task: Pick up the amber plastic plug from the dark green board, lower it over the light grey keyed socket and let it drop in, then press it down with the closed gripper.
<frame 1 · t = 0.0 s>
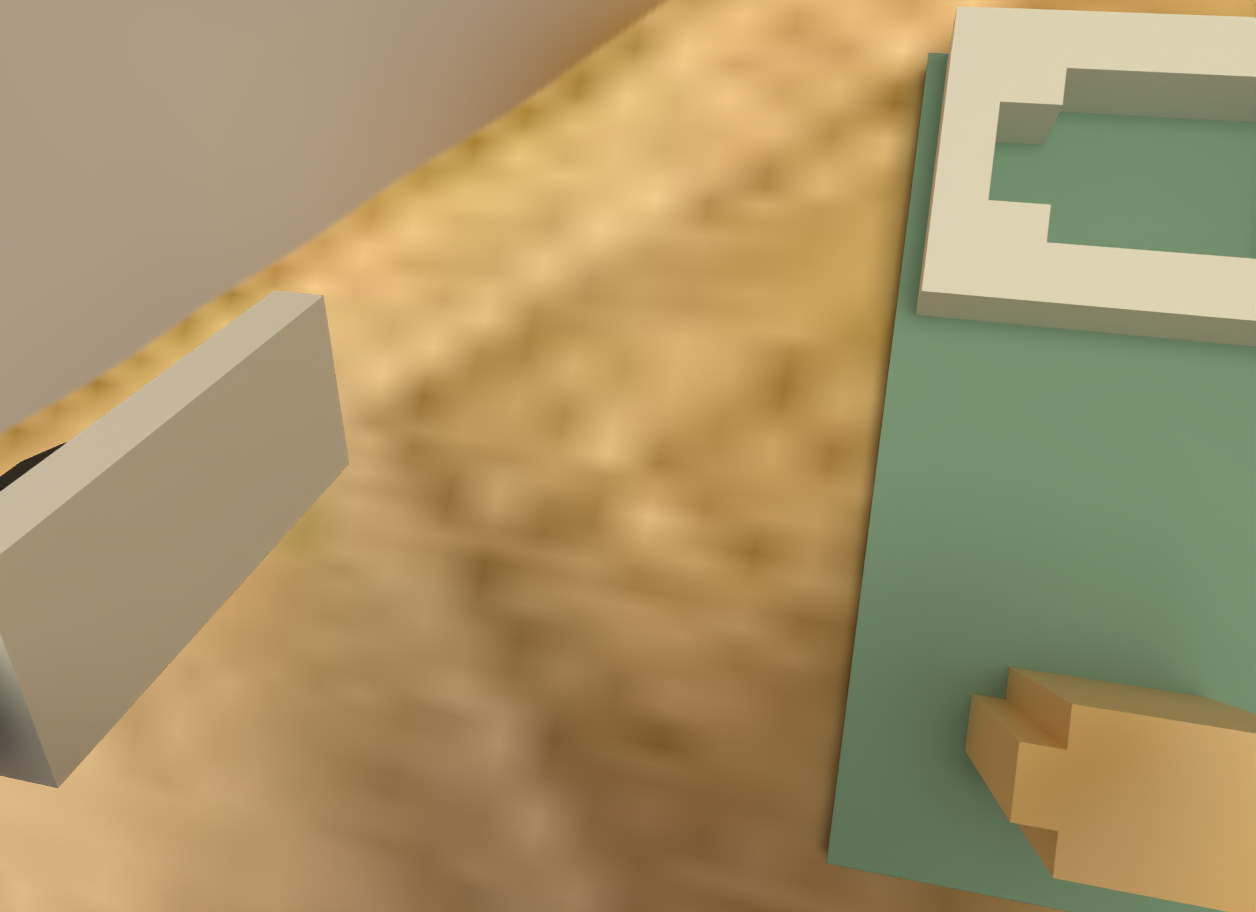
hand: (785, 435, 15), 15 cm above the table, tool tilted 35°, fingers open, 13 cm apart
plug: (1099, 744, 27), point 1 cm above the table, touching board
board: (1119, 479, 28), on the table
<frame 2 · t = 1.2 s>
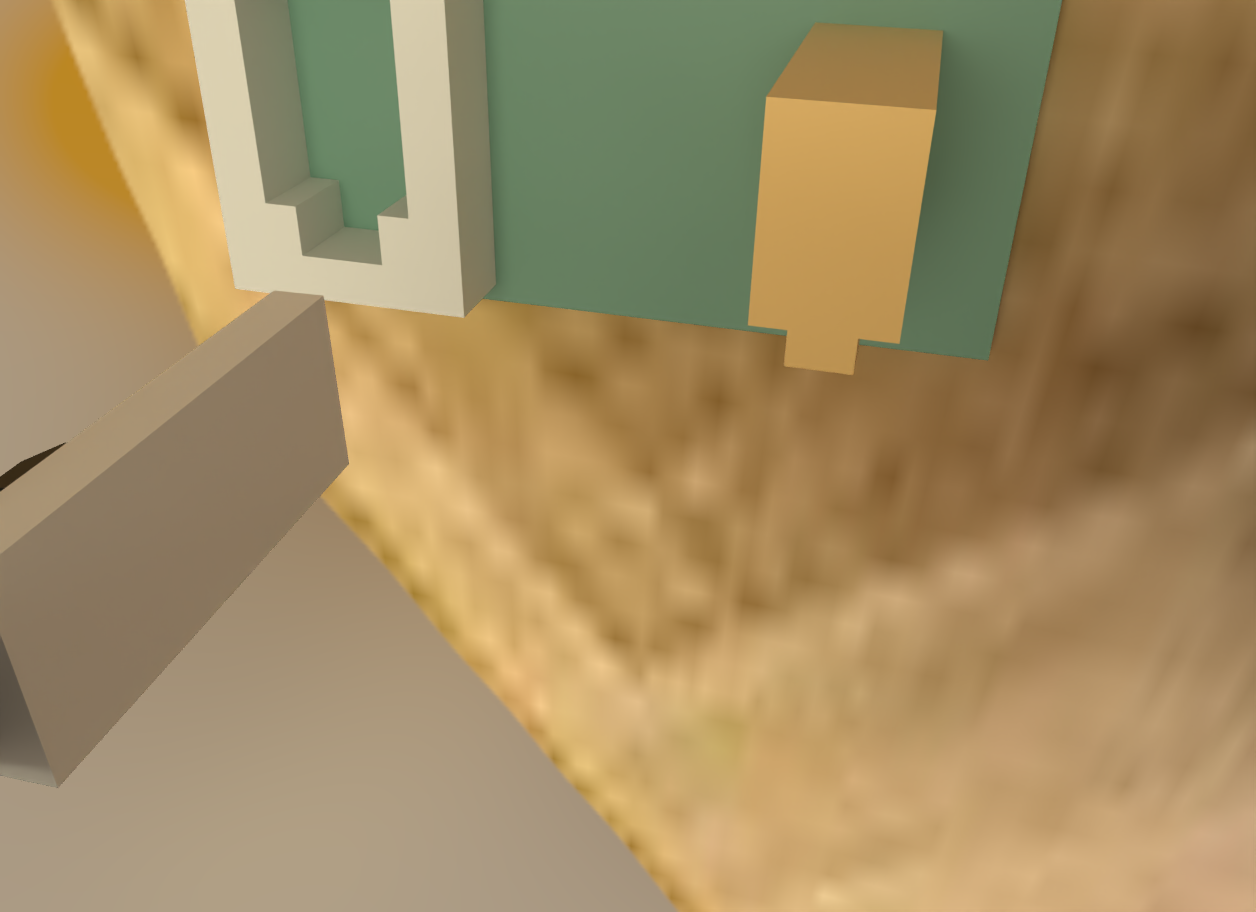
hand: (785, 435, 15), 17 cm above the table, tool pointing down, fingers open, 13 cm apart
plug: (866, 122, 28), point 1 cm above the table, touching board
board: (623, 93, 30), on the table
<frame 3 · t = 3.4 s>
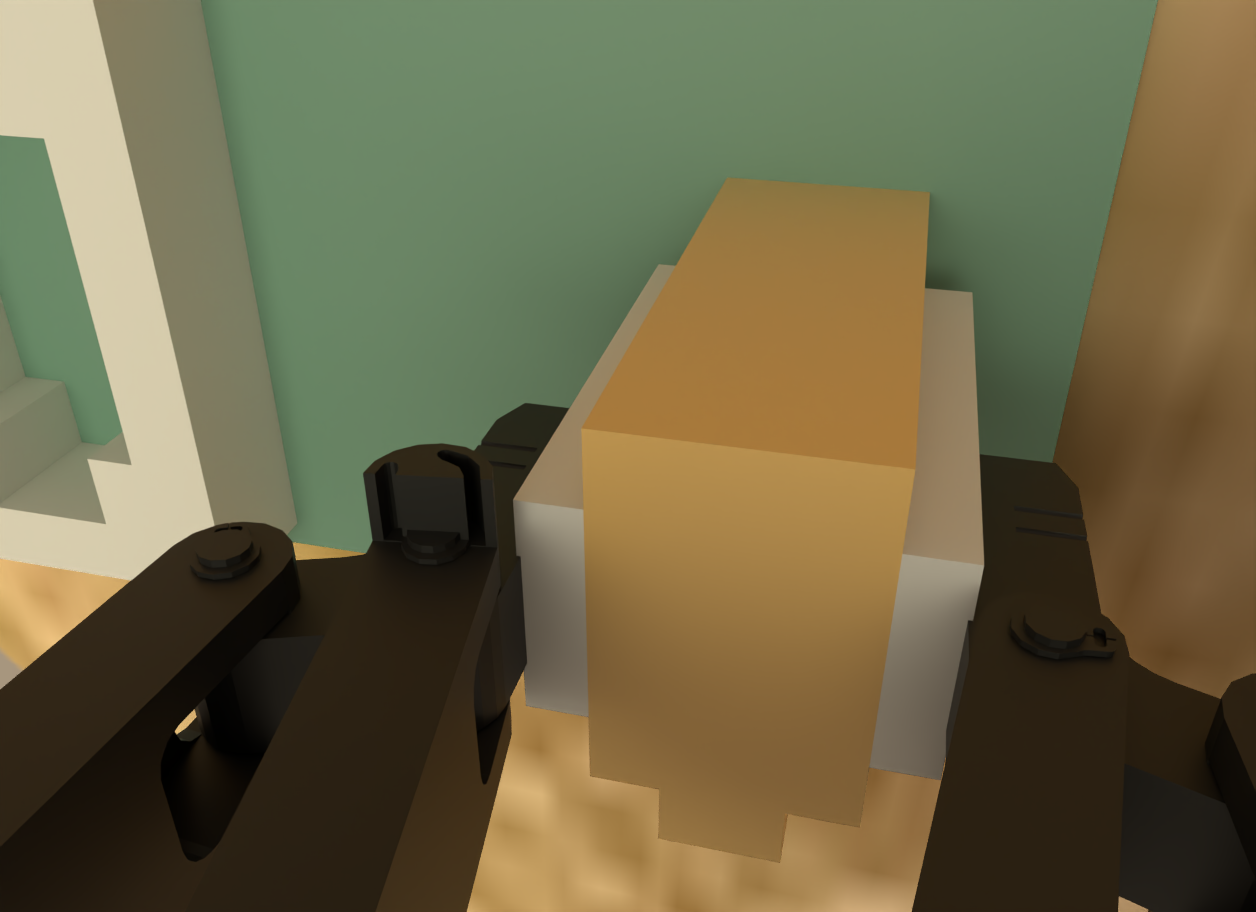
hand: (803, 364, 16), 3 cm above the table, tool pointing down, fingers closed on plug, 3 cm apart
plug: (813, 323, 18), point 1 cm above the table, touching board, gripper
board: (455, 265, 20), on the table
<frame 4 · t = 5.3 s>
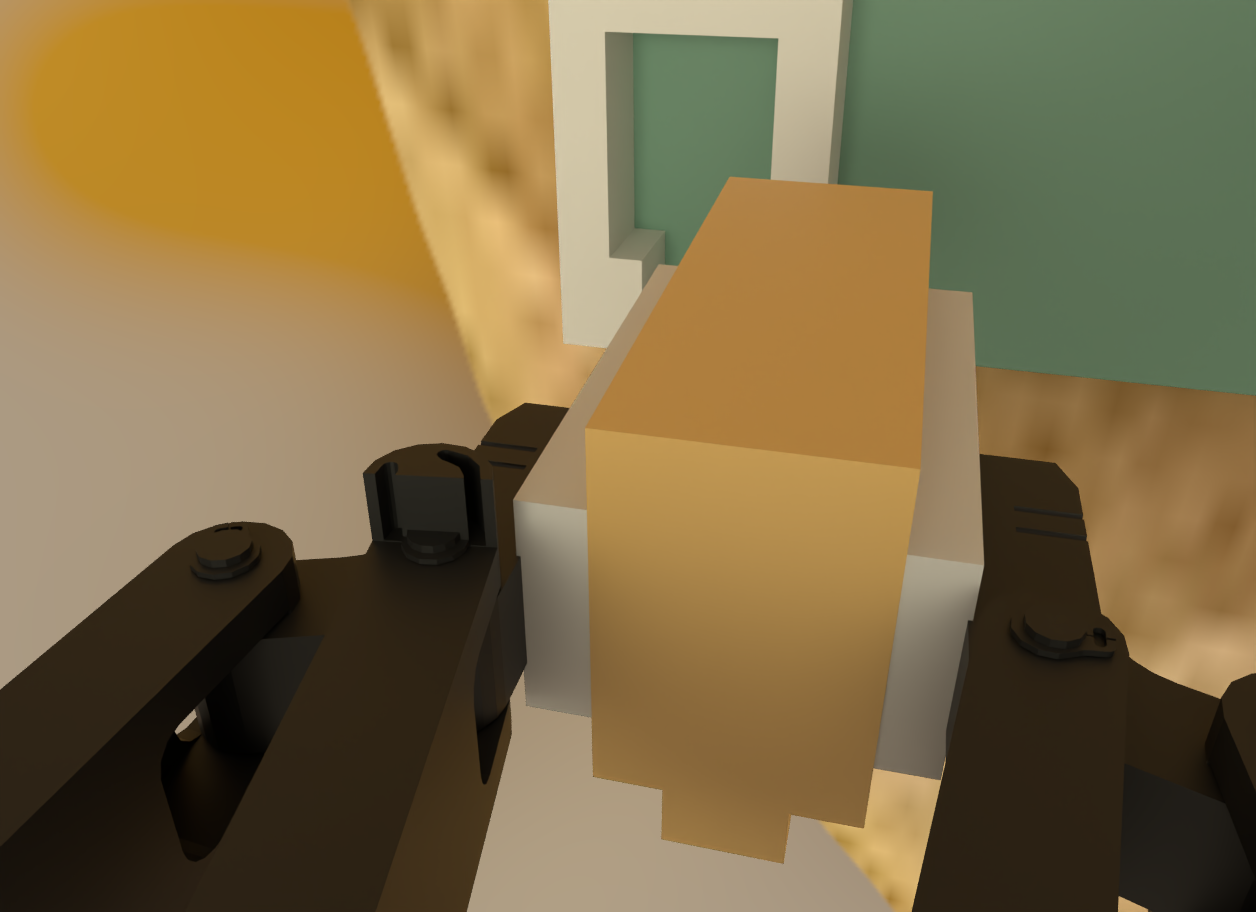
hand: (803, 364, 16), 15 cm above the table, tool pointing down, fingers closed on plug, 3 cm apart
plug: (816, 322, 18), point 14 cm above the table, touching gripper
board: (981, 137, 29), on the table
when the fingers open (6 cm above the table, at t = 7.2 s): plug drops 4 cm, resting on board.
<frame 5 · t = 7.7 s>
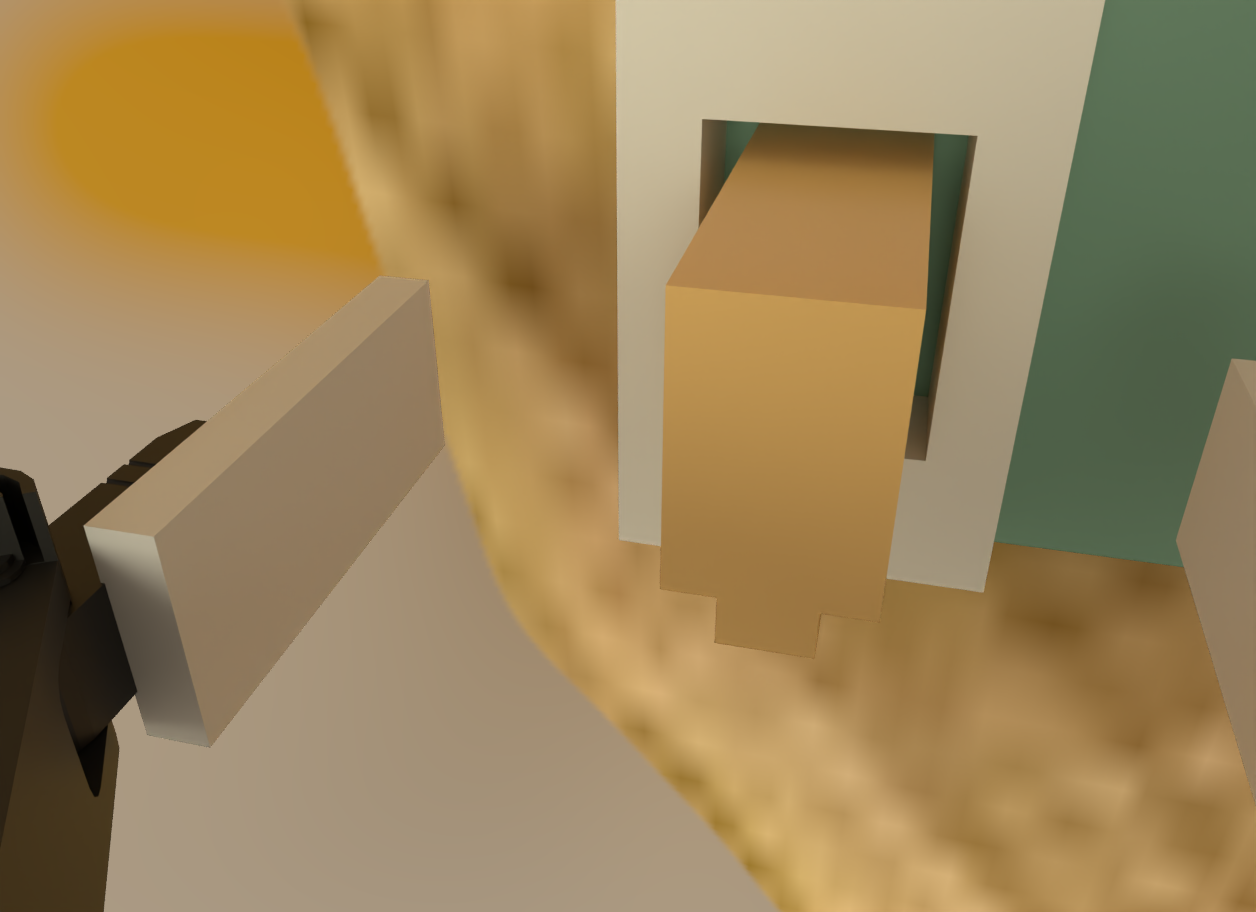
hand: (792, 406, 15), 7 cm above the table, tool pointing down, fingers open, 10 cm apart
plug: (834, 247, 21), point 1 cm above the table, touching board
board: (1229, 262, 20), on the table
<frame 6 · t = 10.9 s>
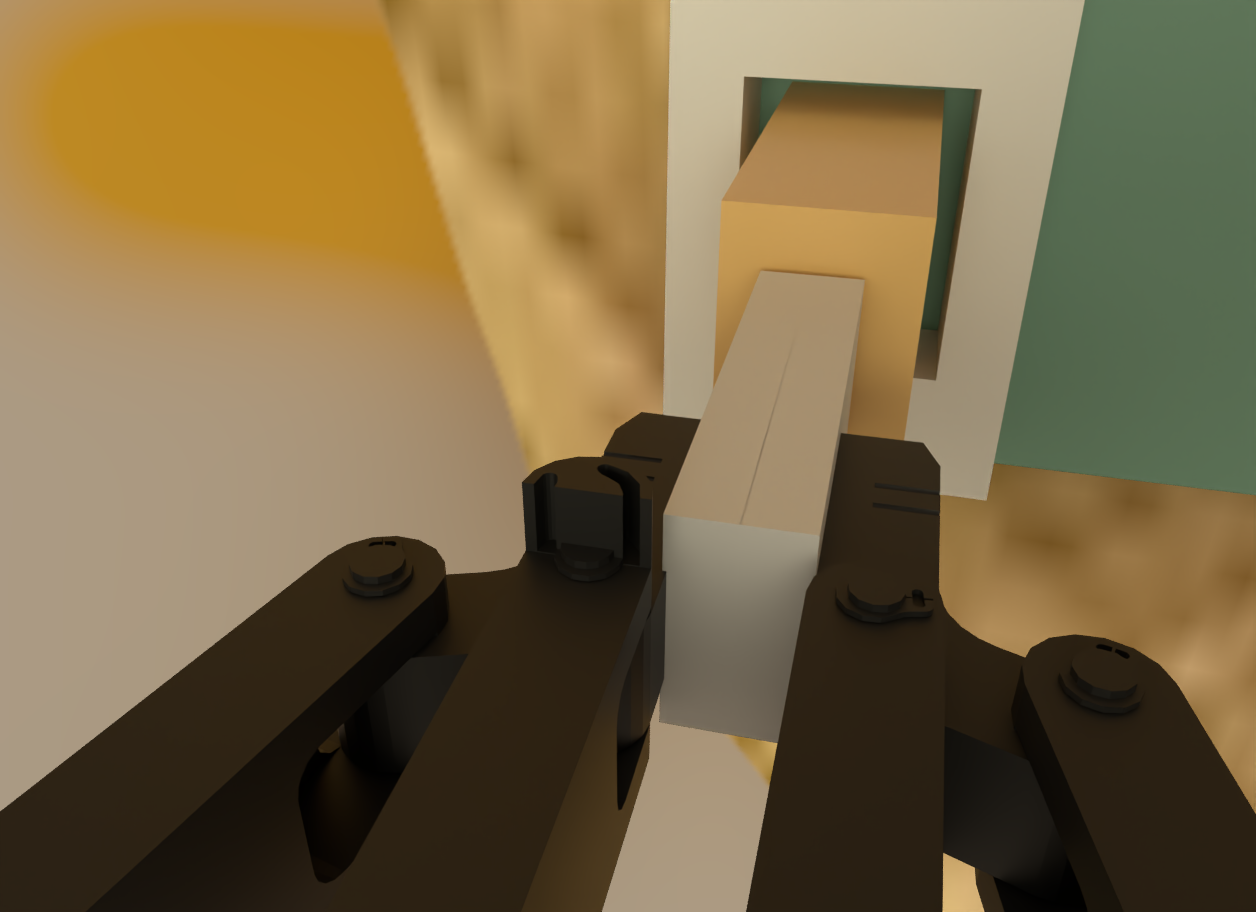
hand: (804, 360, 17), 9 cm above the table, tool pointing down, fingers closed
plug: (855, 195, 23), point 1 cm above the table, touching board, gripper
board: (1204, 207, 23), on the table
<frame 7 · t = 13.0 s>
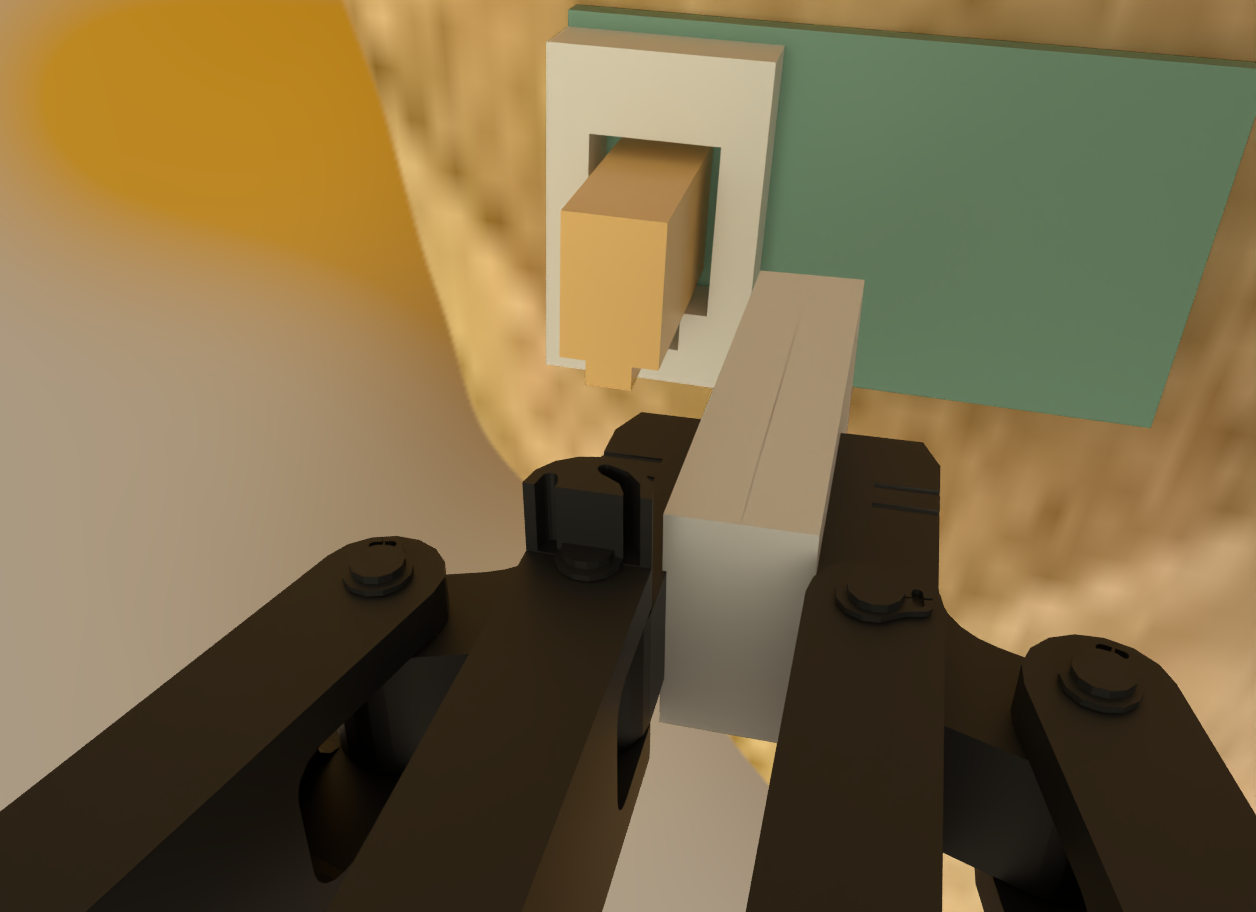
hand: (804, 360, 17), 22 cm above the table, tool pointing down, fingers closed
plug: (665, 202, 38), point 1 cm above the table, touching board
board: (871, 217, 38), on the table
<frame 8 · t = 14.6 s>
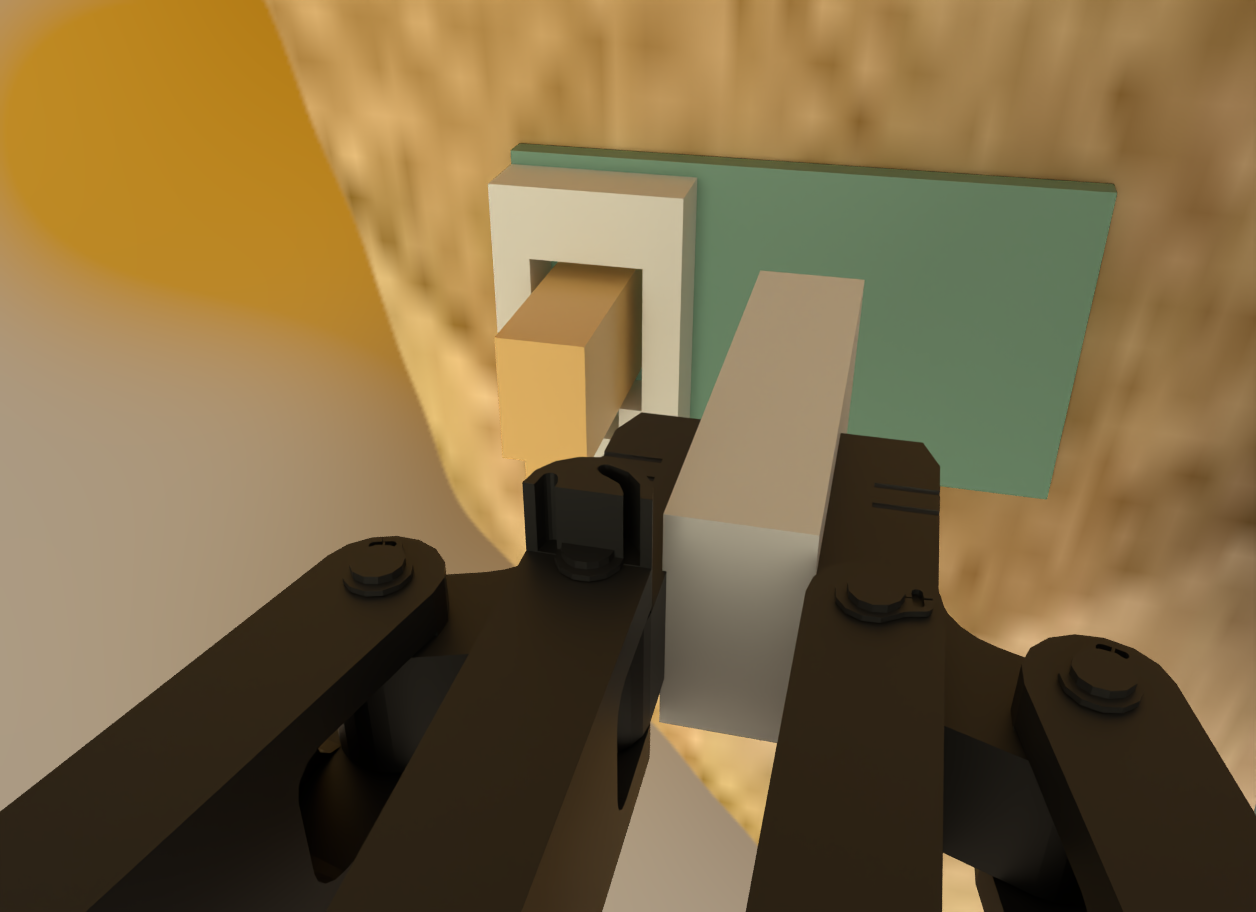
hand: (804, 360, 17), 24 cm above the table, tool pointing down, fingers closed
plug: (605, 310, 43), point 1 cm above the table, touching board
board: (787, 318, 43), on the table
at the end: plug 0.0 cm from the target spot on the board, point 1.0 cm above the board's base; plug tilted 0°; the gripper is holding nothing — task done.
